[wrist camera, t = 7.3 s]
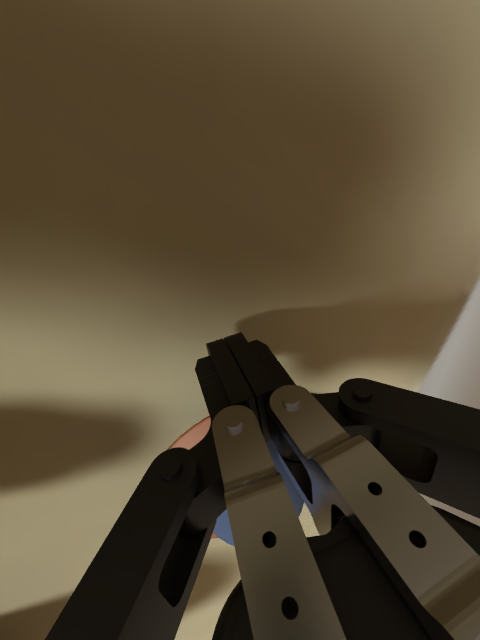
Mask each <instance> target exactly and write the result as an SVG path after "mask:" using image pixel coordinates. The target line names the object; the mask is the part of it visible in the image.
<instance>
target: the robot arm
mask: <svg viewBox="0 0 480 640" xmlns="http://www.w3.org/2000/svg"><path fill="white" fill-rule="evenodd" d="M206 346H207V350H208V354H209V356H207V357H204V358H201V359H198V360H197V364H196V368H195V371H196V374H197V377H198V380H199V383H200V387H201V390H202V393H203V396H204V399H205V402H206V405H207V408H208V412H209V415H210V418H211V424H210V428H209V430H208V432H207V434H206V435H205V437H204V438H203V439H202V440H201V441H200V442H199V443H197V444H196V445H195V446H193V447H192V448H191V449H189V450H188V449H186V448H182V447H176V448H171V449H168V450H166V451H164V452H163V453H161V454H160V455H159V456H157V457H156V458H155V459H154V461H153V462H152V463H151V465H150V467H149V468H148V470H147V472H146V473H145V475H144V476H143V478H142V480H141V481H140V483H139V485H138V486H137V488H136V490H135V491H134V493H133V495H132V496H131V498H130V500H129V501H128V503H127V505H126V506H125V508H124V510H123V511H122V513H121V515H120V516H119V518H118V519H117V521H116V523H115V524H114V526H113V528H112V529H111V531H110V533H109V534H108V536H107V538H106V539H105V541H104V543H103V544H102V546H101V548H100V549H99V551H98V553H97V554H96V556H95V558H94V559H93V561H92V562H91V564H90V566H89V567H88V569H87V571H86V572H85V574H84V576H83V577H82V579H81V581H80V582H79V584H78V586H77V587H76V589H75V591H74V592H73V594H72V596H71V597H70V599H69V601H68V602H67V604H66V606H65V607H64V609H63V610H62V612H61V614H60V615H59V617H58V619H57V620H56V622H55V624H54V625H53V627H52V629H51V630H50V632H49V634H48V635H47V637H46V639H45V640H174V639H175V636H176V633H177V630H178V627H179V625H180V622H181V619H182V616H183V614H184V611H185V608H186V605H187V603H188V600H189V597H190V594H191V591H192V589H193V586H194V583H195V580H196V578H197V575H198V572H199V569H200V566H201V564H202V561H203V558H204V555H205V553H206V550H207V547H208V544H209V541H210V539H211V536H212V533H213V530H214V528H215V525H216V521H217V518H218V517H219V516H220V515H221V514H222V513H223V512H224V511H225V510H226V509H227V512H228V517H229V522H230V526H231V531H232V536H233V541H234V546H235V551H236V556H237V560H238V565H239V570H240V575H241V580H240V581H239V583H238V584H237V585H236V586H235V588H234V589H233V591H232V592H231V594H230V595H229V597H228V599H227V601H226V603H225V605H224V607H223V609H222V611H221V613H220V616H219V619H218V621H217V624H216V627H215V631H214V634H213V638H212V640H480V527H479V526H477V525H475V524H473V523H471V522H469V521H466V520H464V519H462V518H460V517H458V516H456V515H454V514H452V513H449V512H447V511H445V510H443V509H440V508H438V507H435V506H432V505H430V504H429V503H428V502H427V501H426V500H425V499H424V498H423V497H422V496H421V495H420V494H419V493H421V494H423V495H426V496H428V497H430V498H433V499H435V500H437V501H440V502H442V503H444V504H447V505H449V506H452V507H454V508H456V509H458V510H461V511H463V512H465V513H468V514H470V515H472V516H475V517H477V518H480V410H479V409H475V408H472V407H468V406H465V405H461V404H457V403H453V402H450V401H446V400H442V399H439V398H435V397H431V396H427V395H424V394H420V393H417V392H413V391H409V390H405V389H402V388H398V387H394V386H391V385H387V384H383V383H379V382H376V381H372V380H368V379H364V378H354V379H350V380H347V381H345V382H344V383H343V384H342V385H341V386H340V388H339V392H336V393H325V394H314V393H310V392H309V391H308V390H307V389H305V388H303V387H301V386H298V385H296V384H295V383H294V381H293V380H292V379H291V377H290V376H289V375H288V373H287V372H286V371H285V369H284V368H283V367H282V365H281V364H280V363H279V361H277V359H276V357H275V356H274V354H272V352H271V350H270V349H269V348H268V346H267V345H266V344H264V343H262V342H260V341H258V340H254V341H251V342H247V340H246V339H245V337H244V336H243V334H242V333H241V332H240V333H237V334H234V335H231V336H228V337H225V338H224V339H223V338H222V339H219V340H216V341H213V342H210V343H207V344H206ZM270 440H273V442H274V444H275V446H276V448H277V454H278V458H279V460H280V462H281V464H282V466H283V467H284V469H285V471H286V472H287V474H288V476H289V477H290V479H291V481H292V482H293V484H294V486H295V487H296V489H297V491H298V492H299V494H300V496H301V497H302V499H303V500H304V502H305V504H306V505H307V507H308V509H309V511H310V513H311V515H312V518H313V520H314V523H315V526H316V528H317V530H318V533H319V535H320V536H313V537H307V538H306V536H305V533H304V531H303V528H302V526H301V523H300V521H299V518H298V516H297V513H296V511H295V508H294V506H293V503H292V501H291V498H290V496H289V493H288V490H287V488H286V485H285V483H284V481H283V478H282V476H281V474H280V473H279V472H277V470H276V468H275V465H274V463H273V460H272V457H271V455H270V452H269V450H268V447H267V445H266V442H267V441H270ZM418 492H419V493H418Z"/></svg>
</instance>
